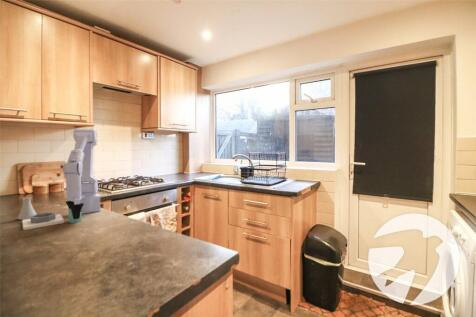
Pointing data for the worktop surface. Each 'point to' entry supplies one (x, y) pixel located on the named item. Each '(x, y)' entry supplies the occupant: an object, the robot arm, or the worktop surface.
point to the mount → (42, 220)
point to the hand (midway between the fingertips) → (74, 217)
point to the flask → (26, 209)
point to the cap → (72, 217)
